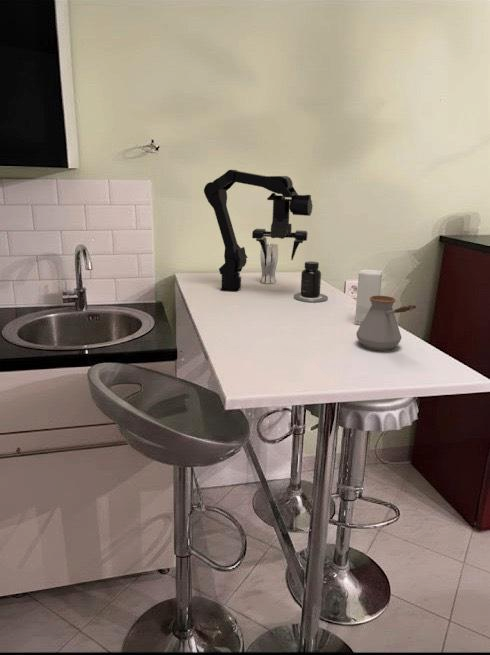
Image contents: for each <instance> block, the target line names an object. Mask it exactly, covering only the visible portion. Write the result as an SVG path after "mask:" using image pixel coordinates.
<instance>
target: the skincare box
mask: <svg viewBox="0 0 490 655" xmlns="http://www.w3.org/2000/svg"><path fill="white" fill-rule="evenodd" d="M382 278H383V270H381V269H365V268H363V269H361V270H359V273H358V278H357V279H358V280H357V292H356V305H355V306H356V307H355V316H354V317H355V318H354V325H358V326H360V325H361V324H362V322H363V320H364V318H365V316H366V315H367V313H368V311H369V309H370V308H371V306H372V304H371V301H370V297H371V296H381V290H382Z"/></svg>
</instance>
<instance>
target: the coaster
mask: <svg viewBox="0 0 490 655" xmlns="http://www.w3.org/2000/svg"><path fill="white" fill-rule="evenodd" d="M293 299H294V300H296V301H299V302H304V303H323V302H324V303H325V302H326V301H328V299H329V296H327V295H326V294H323V293H320V296H319V297H317V298H305V297H302V296H301V292H297V293H294V294H293Z"/></svg>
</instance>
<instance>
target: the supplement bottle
mask: <svg viewBox="0 0 490 655" xmlns="http://www.w3.org/2000/svg"><path fill="white" fill-rule="evenodd" d="M319 265H320V264H319V262H318V261H305V262H304V269H303V270H302V271H301V276H300V278H301V280H300V281H301V282H300V293H301V296H302V297H305V298H317V297H319V296H320V294H321V284H322V283H321V280H322V272H321V271H320V270H319V267H320V266H319Z"/></svg>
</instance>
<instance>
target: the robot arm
mask: <svg viewBox="0 0 490 655" xmlns="http://www.w3.org/2000/svg"><path fill="white" fill-rule="evenodd" d="M235 183H238V184H243V185H244V184H245V185H248V186H249V185H250V186H255V187H259V188H262V189H263V188H264V189H266V190H267V191H268V192H269V191H270V192H271V194H270V195H269V196H268V197H267V201H272V218H271V219H272V222H271V224H270V231H266V228H255V229H254V230H253V231H252V233H251V234H252V235H251V238H252V239H255V241H256V242H259V244H260V247H261V246H262V249H263V252H264V256H265V259H267V244H268V242H267V238H268V237H269V238H271V239H281V240H284V239H285V238H286V239H287V238H288V239H289V238H292V239H294V241H293V245H292V251H291V256H290V257H291V258H290V259H291V261H293V260H294V257H295V255H296V252H297V248H298V247H299V245H300V244H302V243H304V242H305V241H307V240H308V233H309V232H308V231H307V230H296V231H295V232H292V229H293V228H292V223H290V213H292V215H293V216H304V217H305V216H306V217H307V216H308V217H310V216H311V214H312V212H313V200H312V195H311V194H298V192H297V191H296V189H295V187H294V186H293V180H292V179H291V177H289V176H288V175H281V176H280V175H269V176H267V175H262V174H258V173H257V174H256V173H251V172H245V171H240V170H237V169H229V170H227V171H226V172H225V173H224V174H222V175H220V176H219V177H217V178H216V179H214V180H213V181H210V182H207V183H206V184H205V186H204V188H203V193H204V196H205V199H206V200H207V201H208V203H209V205H210V206H211V207H212V208H213V211H214V214H215V219H216V221H217V225H218V227H219V231H220V235H221V239H222V242H223V245H224V254H223V256H224V263H223V264H222V266H220V267H219V268H218V270H219V275H221V287H220V289H219V290H220V291H223V292H238V291H240V289H241V287H242V277H241V276H240V275H241V273H240V272H242V270H243V268H244V267H245V266H246V265H247V263H248V262H247V258H248V256H247V254H246V249H245V247H244V246H243V247H241V246H240V245H239V244H238V241H237V239H236V238H237V237H236V234H235V231H234V228H233V225H232V220H231V217H230V215H229V214H230V213H229V211H228V207H227V201H228V194H227V192H228V190H229V189H231V188H232V186H234V185H235ZM277 194H278V195H277Z"/></svg>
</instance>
